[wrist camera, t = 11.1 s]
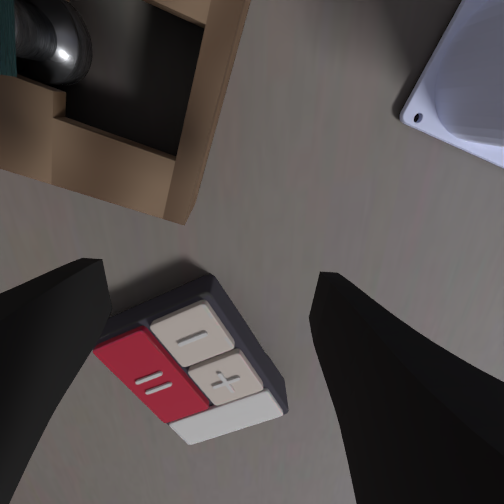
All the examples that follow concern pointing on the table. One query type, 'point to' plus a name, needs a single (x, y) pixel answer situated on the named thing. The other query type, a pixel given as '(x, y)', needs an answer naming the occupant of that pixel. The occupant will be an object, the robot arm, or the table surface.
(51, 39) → the peg
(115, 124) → the table surface
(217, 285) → the calculator
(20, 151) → the keyhole plate
